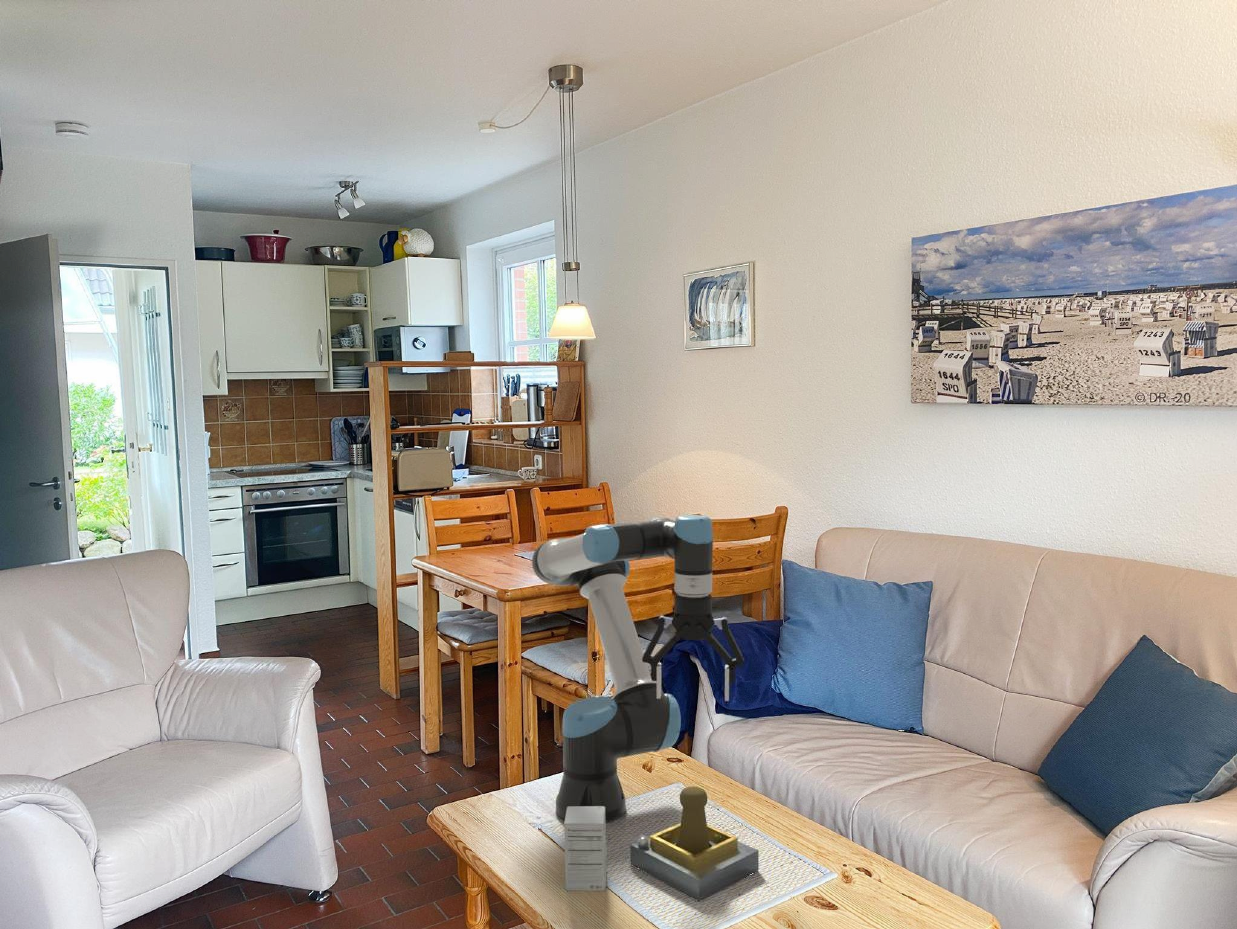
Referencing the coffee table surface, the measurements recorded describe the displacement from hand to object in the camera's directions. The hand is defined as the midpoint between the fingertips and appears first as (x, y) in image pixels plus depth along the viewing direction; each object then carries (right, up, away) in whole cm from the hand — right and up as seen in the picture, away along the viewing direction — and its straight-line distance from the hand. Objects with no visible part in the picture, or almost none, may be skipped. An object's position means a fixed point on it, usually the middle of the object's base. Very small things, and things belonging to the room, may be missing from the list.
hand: (692, 697), depth 184 cm
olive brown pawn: (-1, -25, -12) cm, 28 cm away
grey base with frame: (-1, -29, -12) cm, 31 cm away
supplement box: (-21, -30, -16) cm, 40 cm away
